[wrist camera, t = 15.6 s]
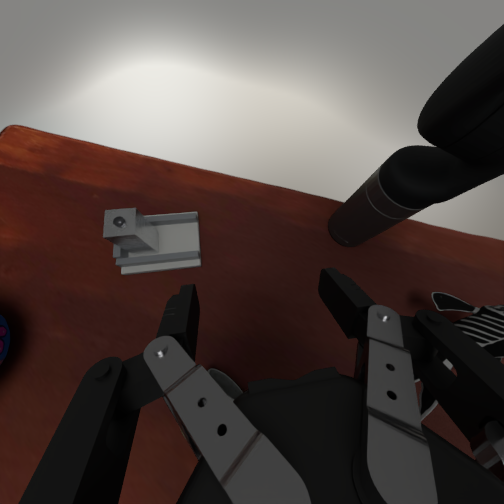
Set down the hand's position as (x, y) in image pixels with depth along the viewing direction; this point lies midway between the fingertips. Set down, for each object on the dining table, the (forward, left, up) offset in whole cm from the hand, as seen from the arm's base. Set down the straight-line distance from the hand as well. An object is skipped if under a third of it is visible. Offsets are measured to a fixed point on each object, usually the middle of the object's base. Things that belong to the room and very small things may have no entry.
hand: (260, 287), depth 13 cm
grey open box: (+3, -21, -29) cm, 36 cm away
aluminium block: (+5, -23, -27) cm, 36 cm away
